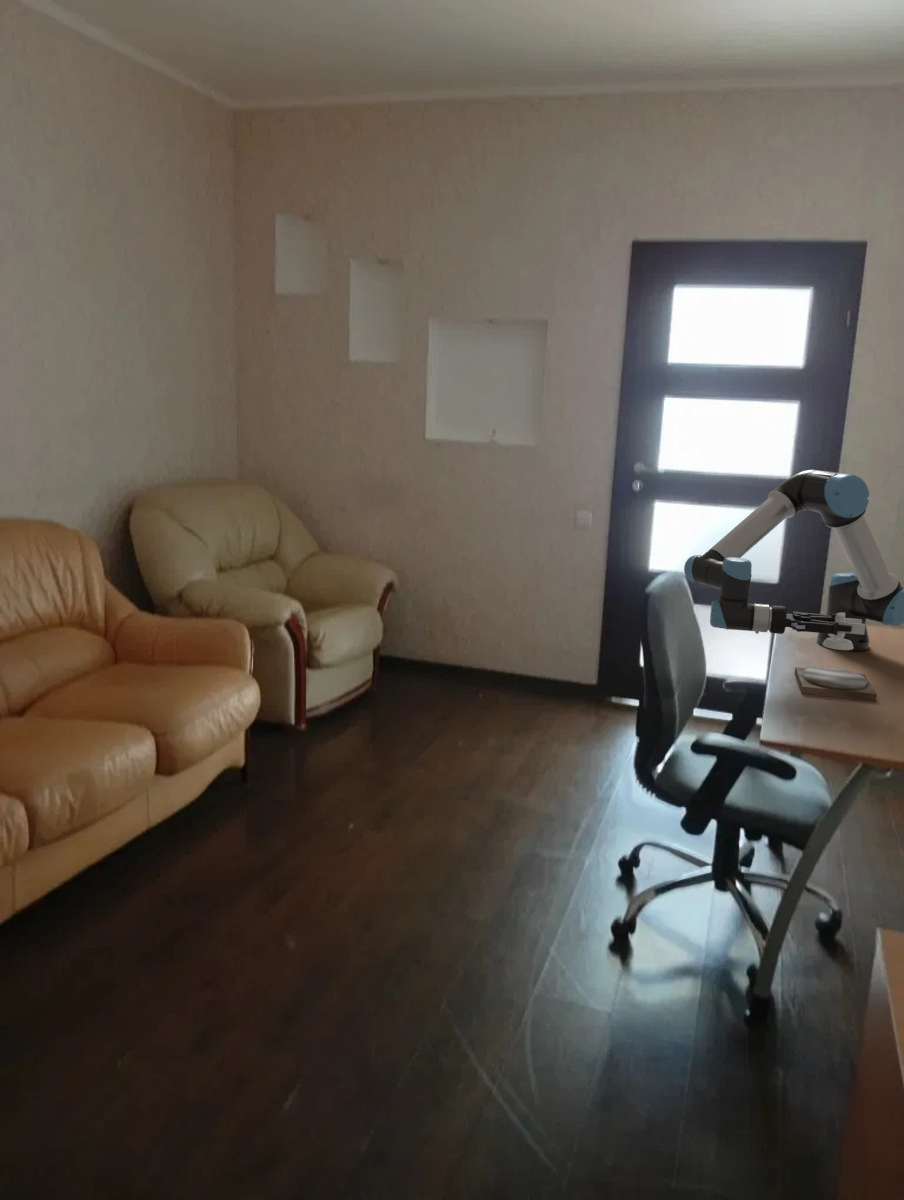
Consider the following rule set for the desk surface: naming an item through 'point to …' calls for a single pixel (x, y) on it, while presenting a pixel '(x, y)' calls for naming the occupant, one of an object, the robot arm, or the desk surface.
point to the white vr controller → (838, 637)
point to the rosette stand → (834, 683)
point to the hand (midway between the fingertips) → (862, 626)
